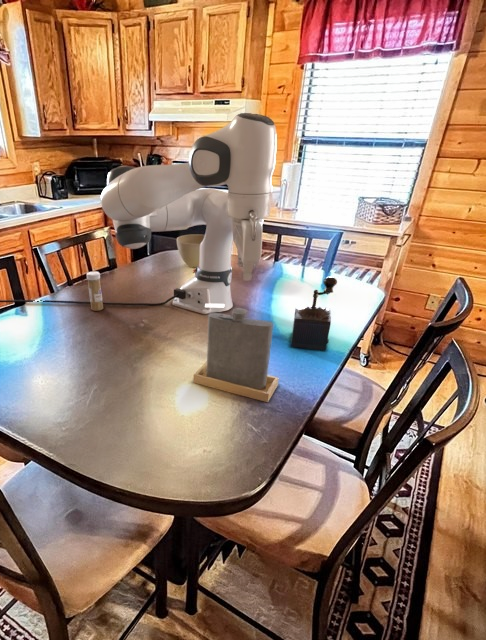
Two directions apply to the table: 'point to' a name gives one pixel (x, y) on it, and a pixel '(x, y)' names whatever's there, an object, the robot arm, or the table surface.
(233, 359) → the hip flask
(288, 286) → the table surface
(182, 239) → the flower pot
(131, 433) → the table surface
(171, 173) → the robot arm
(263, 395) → the flask stand
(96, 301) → the sprinkles bottle
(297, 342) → the dark brown coffee grinder
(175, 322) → the table surface
